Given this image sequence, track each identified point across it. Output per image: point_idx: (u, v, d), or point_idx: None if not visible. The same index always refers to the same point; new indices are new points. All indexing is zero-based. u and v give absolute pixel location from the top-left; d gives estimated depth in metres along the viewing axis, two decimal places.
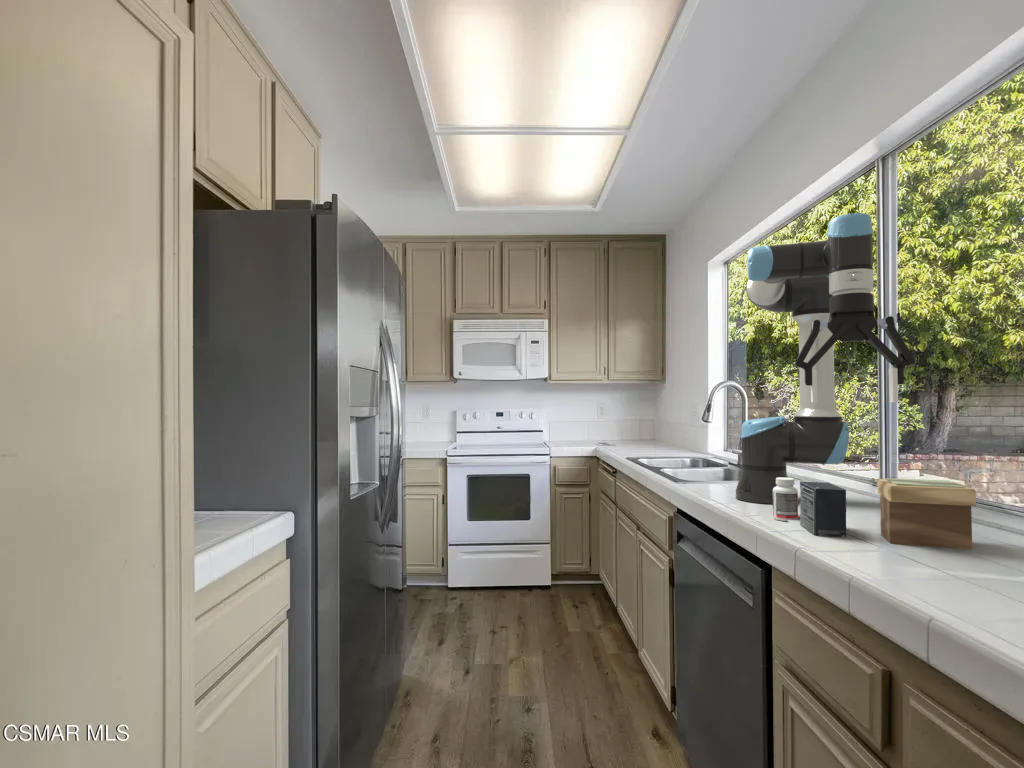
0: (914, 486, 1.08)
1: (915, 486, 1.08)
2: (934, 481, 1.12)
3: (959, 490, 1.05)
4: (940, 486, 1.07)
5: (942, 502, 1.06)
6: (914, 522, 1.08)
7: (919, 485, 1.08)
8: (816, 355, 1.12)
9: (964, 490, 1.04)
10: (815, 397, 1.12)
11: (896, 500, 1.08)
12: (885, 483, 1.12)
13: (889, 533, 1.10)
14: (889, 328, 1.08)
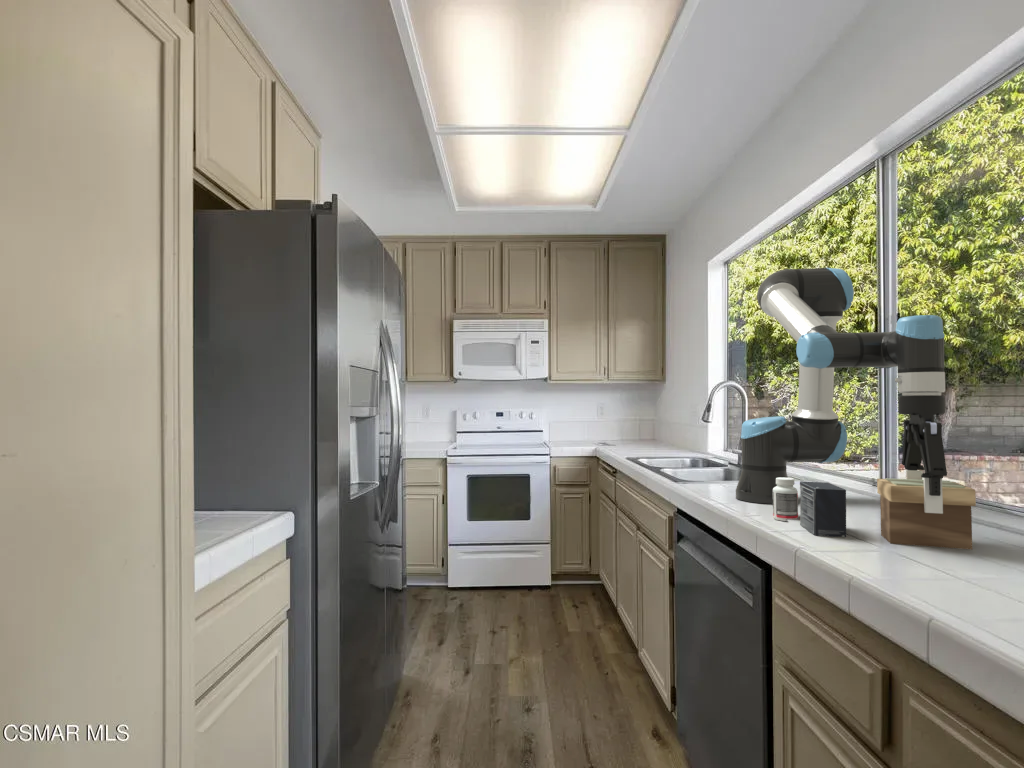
0: (914, 486, 1.08)
1: (915, 486, 1.08)
2: None
3: (959, 490, 1.05)
4: None
5: None
6: (914, 522, 1.08)
7: (919, 485, 1.08)
8: (906, 455, 1.17)
9: (964, 490, 1.04)
10: None
11: (896, 500, 1.08)
12: (885, 483, 1.12)
13: (889, 533, 1.10)
14: (924, 434, 1.06)
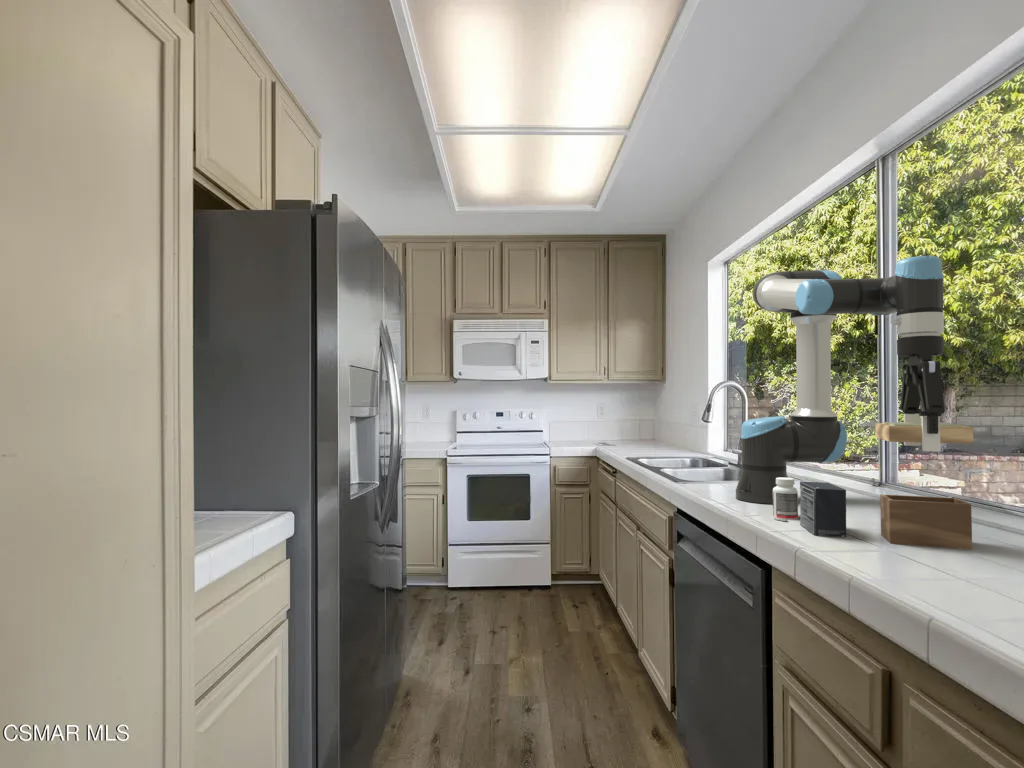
0: (912, 426, 1.08)
1: (913, 426, 1.08)
2: None
3: (957, 429, 1.05)
4: None
5: (940, 441, 1.06)
6: (914, 522, 1.08)
7: (917, 425, 1.08)
8: (905, 399, 1.17)
9: (962, 428, 1.05)
10: None
11: (894, 440, 1.09)
12: (883, 425, 1.13)
13: (889, 533, 1.10)
14: (922, 373, 1.07)
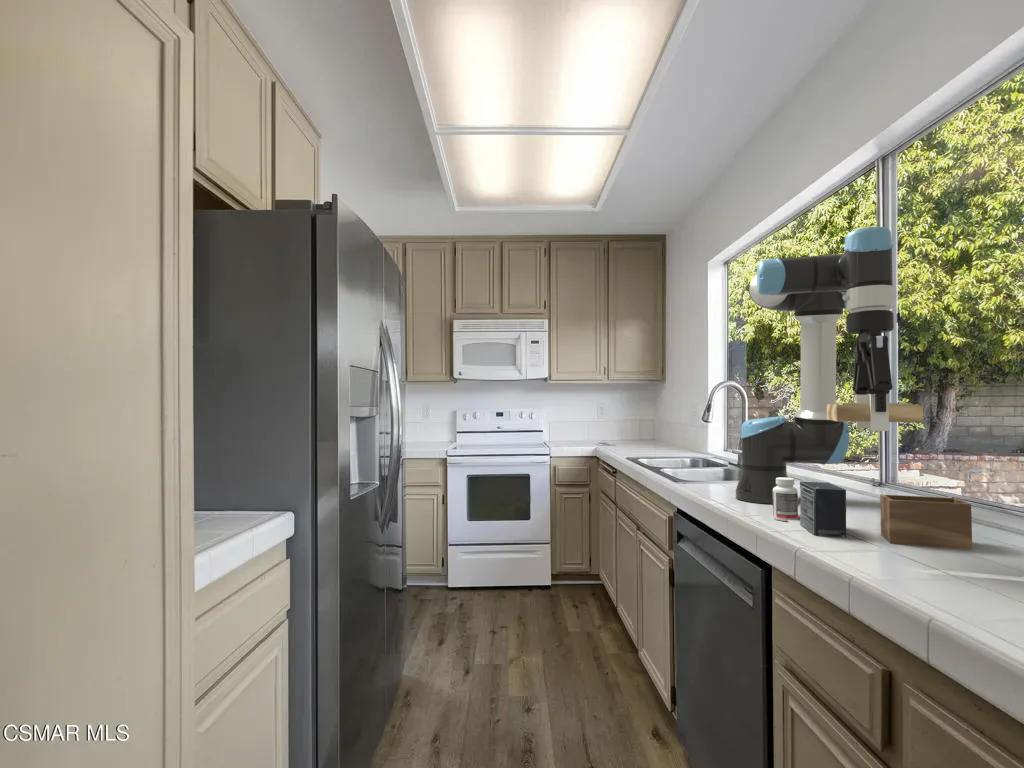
0: (860, 404, 1.03)
1: (862, 404, 1.03)
2: None
3: (906, 407, 1.00)
4: None
5: (889, 419, 1.00)
6: (914, 522, 1.08)
7: (866, 404, 1.03)
8: (856, 379, 1.12)
9: (911, 406, 0.99)
10: (856, 422, 1.12)
11: (842, 419, 1.03)
12: (832, 405, 1.07)
13: (889, 533, 1.10)
14: (870, 349, 1.01)
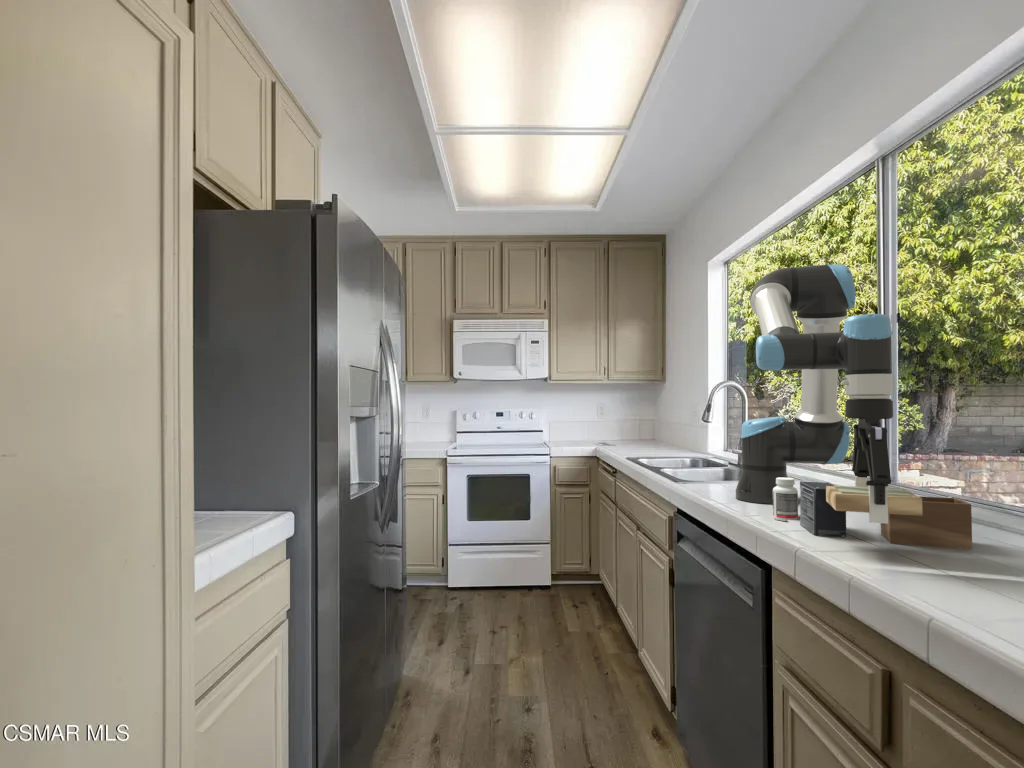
0: (859, 494, 1.02)
1: (860, 494, 1.02)
2: None
3: (905, 499, 0.99)
4: None
5: (888, 511, 1.00)
6: (914, 522, 1.08)
7: (865, 493, 1.02)
8: (856, 462, 1.11)
9: (910, 499, 0.99)
10: None
11: (841, 509, 1.02)
12: (831, 491, 1.07)
13: (889, 533, 1.10)
14: (869, 440, 1.01)
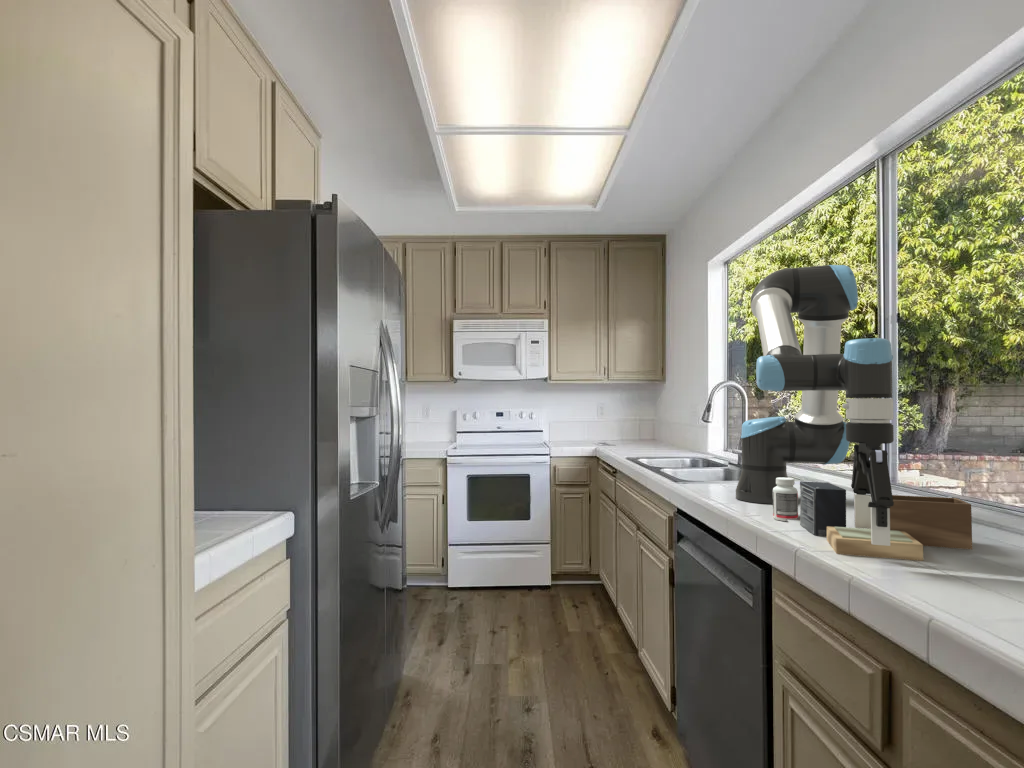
0: (860, 539, 1.02)
1: (861, 539, 1.02)
2: None
3: (906, 545, 0.99)
4: None
5: (889, 557, 1.00)
6: (914, 522, 1.08)
7: (866, 538, 1.02)
8: (855, 480, 1.12)
9: (911, 545, 0.99)
10: (855, 522, 1.12)
11: None
12: (832, 534, 1.07)
13: None
14: (870, 463, 1.00)
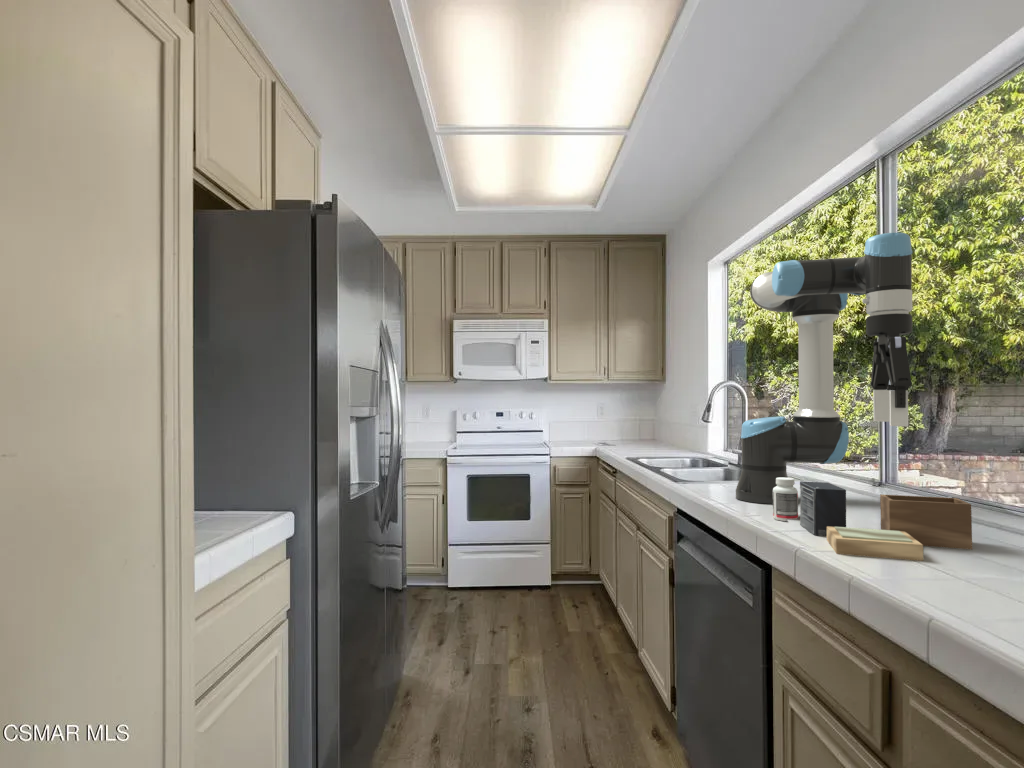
0: (860, 539, 1.02)
1: (861, 539, 1.02)
2: (883, 532, 1.06)
3: (906, 545, 0.99)
4: (887, 540, 1.01)
5: (889, 557, 1.00)
6: (914, 522, 1.08)
7: (866, 538, 1.02)
8: (874, 376, 1.17)
9: (911, 545, 0.99)
10: (874, 416, 1.17)
11: None
12: (832, 534, 1.07)
13: None
14: (889, 349, 1.05)
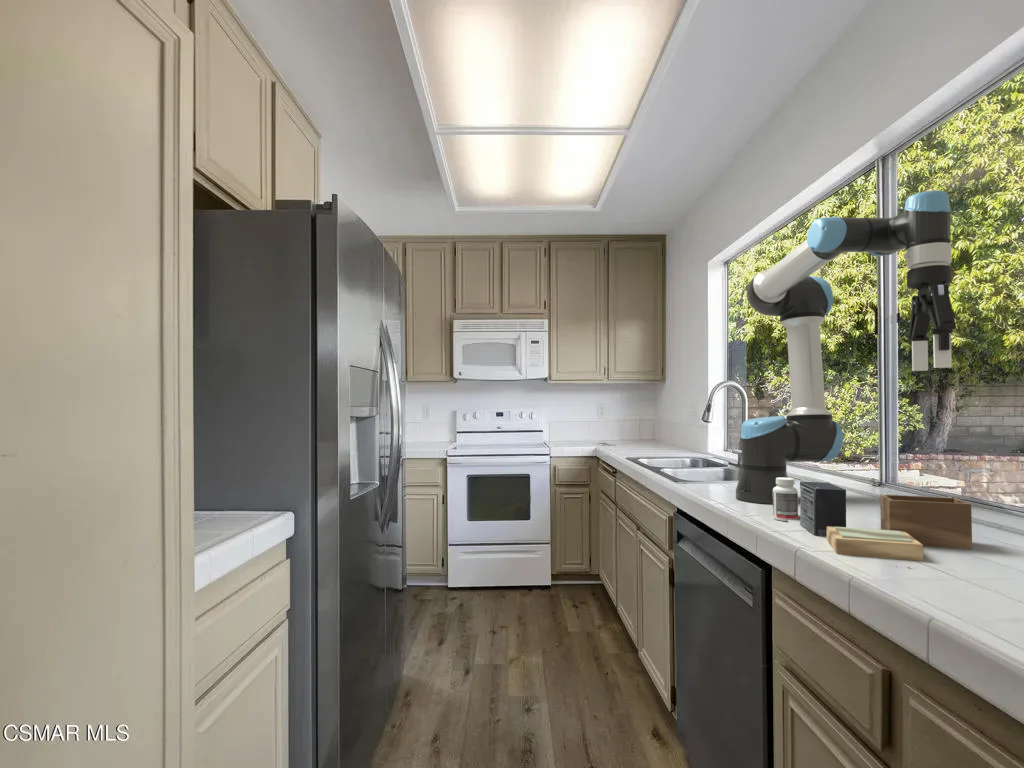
0: (860, 539, 1.02)
1: (861, 539, 1.02)
2: (883, 532, 1.06)
3: (906, 545, 0.99)
4: (887, 540, 1.01)
5: (889, 557, 1.00)
6: (914, 522, 1.08)
7: (866, 538, 1.02)
8: (913, 328, 1.24)
9: (911, 545, 0.99)
10: (913, 366, 1.24)
11: None
12: (832, 534, 1.07)
13: None
14: (932, 297, 1.13)
